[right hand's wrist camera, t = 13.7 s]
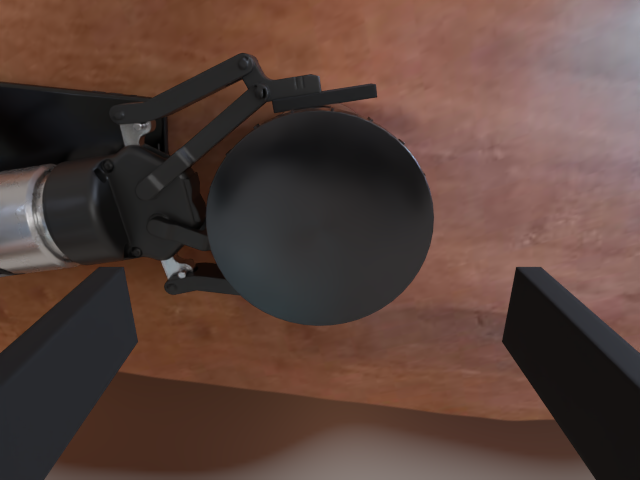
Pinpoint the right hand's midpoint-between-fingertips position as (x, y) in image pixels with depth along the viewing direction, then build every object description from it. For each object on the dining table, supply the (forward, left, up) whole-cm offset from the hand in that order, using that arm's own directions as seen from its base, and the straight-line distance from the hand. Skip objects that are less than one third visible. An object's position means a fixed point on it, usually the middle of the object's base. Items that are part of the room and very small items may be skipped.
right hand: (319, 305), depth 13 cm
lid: (0, 0, -7) cm, 7 cm away
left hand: (0, -4, -17) cm, 18 cm away
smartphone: (+6, +19, -24) cm, 31 cm away
